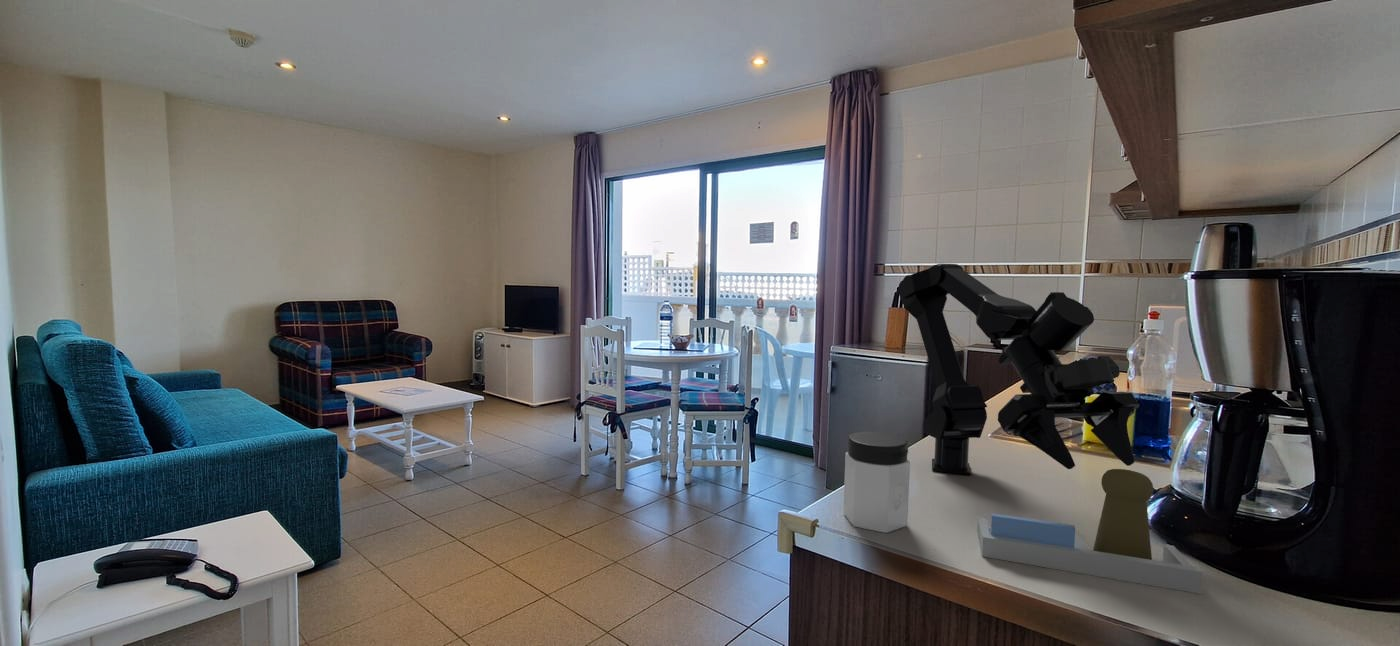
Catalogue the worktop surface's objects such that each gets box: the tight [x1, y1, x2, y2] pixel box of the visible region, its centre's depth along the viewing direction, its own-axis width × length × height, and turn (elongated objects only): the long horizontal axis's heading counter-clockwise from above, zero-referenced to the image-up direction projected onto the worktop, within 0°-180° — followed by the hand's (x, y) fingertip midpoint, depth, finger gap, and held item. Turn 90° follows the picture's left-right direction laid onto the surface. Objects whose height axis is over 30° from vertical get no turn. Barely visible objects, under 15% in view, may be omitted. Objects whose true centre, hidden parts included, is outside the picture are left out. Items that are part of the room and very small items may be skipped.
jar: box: [843, 431, 911, 534], centre depth 82 cm, size 9×8×12 cm
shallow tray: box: [976, 513, 1204, 595], centre depth 72 cm, size 9×22×5 cm, turn 68°
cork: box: [1092, 468, 1154, 560], centre depth 72 cm, size 6×6×11 cm
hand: (1101, 466), depth 75 cm, fingers open, 9 cm apart
